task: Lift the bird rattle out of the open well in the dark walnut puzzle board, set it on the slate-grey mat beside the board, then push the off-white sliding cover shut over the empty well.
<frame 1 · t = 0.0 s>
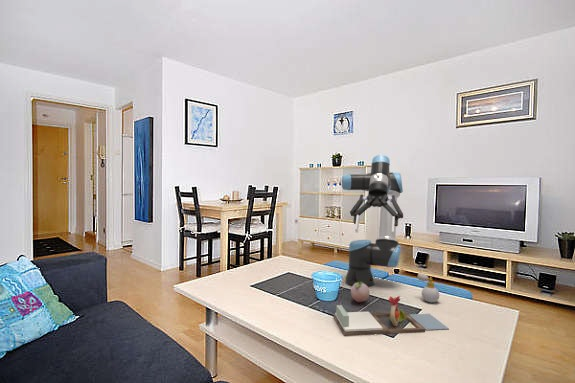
hand: (374, 232, 117), 36 cm above the table, tool tilted 35°, fingers open, 13 cm apart
bird rattle: (396, 324, 119), on the table
puzzle board: (381, 324, 118), on the table
perfume bottle: (427, 301, 142), on the table
decorative fruit: (360, 303, 139), on the table
slate mat: (427, 322, 120), on the table
sliding cover: (357, 315, 117), point 4 cm above the table, slide at 0.0 cm
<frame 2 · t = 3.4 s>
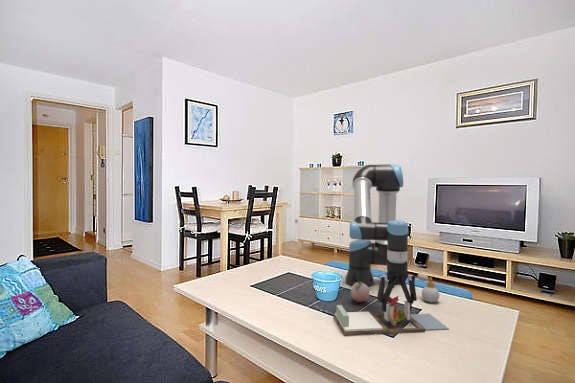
hand: (396, 318, 119), 2 cm above the table, tool pointing down, fingers closed on bird rattle, 8 cm apart
bird rattle: (394, 324, 119), on the table, touching gripper
everything else where it was.
when the fingers open (3 cm above the table, at t = 9.1 s): bird rattle stays where it is, resting on slate mat.
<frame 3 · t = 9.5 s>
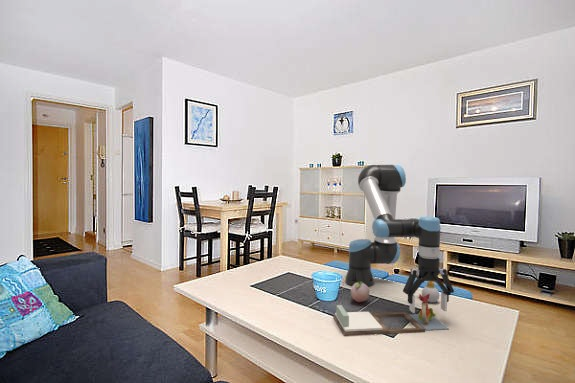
hand: (428, 310, 120), 5 cm above the table, tool pointing down, fingers open, 12 cm apart
bird rattle: (426, 321, 120), resting on slate mat
everything else where it was.
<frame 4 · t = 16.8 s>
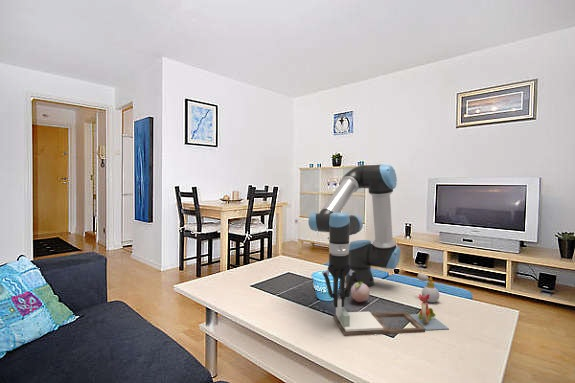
hand: (338, 314, 116), 4 cm above the table, tool pointing down, fingers closed
sliding cover: (358, 315, 117), point 4 cm above the table, slide at 0.3 cm, touching gripper
everything else where it was.
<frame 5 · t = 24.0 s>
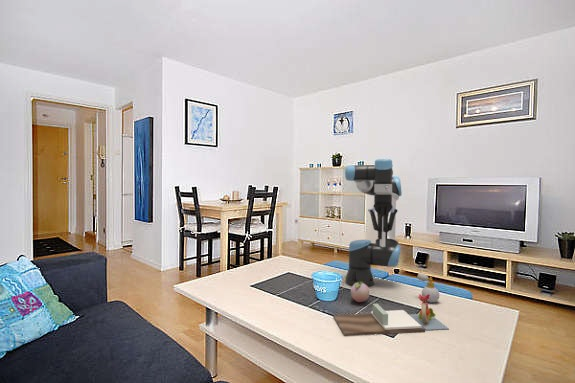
hand: (382, 246, 137), 26 cm above the table, tool pointing down, fingers closed
sliding cover: (394, 314, 119), point 4 cm above the table, slide at 14.9 cm
everything else where it was.
at the end: sliding cover slide at 14.9 cm; bird rattle inside the target area (0.8 cm from its centre), resting on slate mat; bird rattle tilted 1° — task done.
